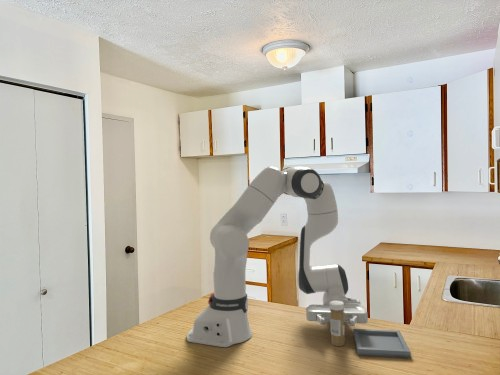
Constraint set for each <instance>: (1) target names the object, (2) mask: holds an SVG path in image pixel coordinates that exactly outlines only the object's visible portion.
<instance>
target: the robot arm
mask: <svg viewBox="0 0 500 375" xmlns="http://www.w3.org/2000/svg"><path fill="white" fill-rule="evenodd" d="M333 189H334V188H333V187H332V185H331V184H330V183H328V182H326V181H323V180H322V178H321V176H320V174H319V173H318V172H317V171H316V170H315V169H313V168H310V167H305V166H299V165H298V166H290V167H289V166H288V167H285V168H283V169H279V168H277V167H275V166H274V167H273V166H267V167H265V168H264V169H262V170H261V172H259V173H258V174H257V176H255V177H254V178H253V180H251V182H250V183H249V185H248V186H247V187H246V189H245V190H244V192H243V193H242V194H241V195H240V196H239V198H238V199H237V201H236V202H235V203H234V204H233V205H232V206H231V208H230V209H229V210H227V212H226V213H225V214H224V215H223V216H222V217H221V218H220V219H219V221H218V222H217V223H216V224H215V225H214V226H213V227H212V228H211V229H210V234H209V240H210V244H211V246H212V247H213V249H214V255H215V256H214V267H213V274H212V275H213V292H212V293H210V296H209V297H208V300H207V304H208V306H206V308H204V309H203V310H202V311H201V312H200V313H199V314H198V315H197V316H196V317H195V320H194V322H193V326H192V328H191V329H189V331H188V332H187V334H186V341H187V342H188V343H194V344H201V345H208V346H215V347H219V348H220V347H221V348H228V347H231V346H232V345H236V344H241V343H244V342H246V341H248V340H249V339H251V337H252V335H253V332H252V330H251V326H250V321H249V314H248V309H249V302H248V299H249V298H248V294H247V289H246V287H247V286H246V284H247V283H246V268H247V261H248V251H249V246H250V241H249V237H248V234H249V233H251V231H252V230H253V229H254V228H255V227H256V226H258V225H259V224H260V223H261V222H262V221H263V220H264V218H265V217H266V216H267V214H269V211H270V210H271V209H272V207H273V206H274V205H275V203H276V202H277V200H278V199H279V197H281V196H282V195H283V194H284V195H289V196H292V197H295V198H302V199H304V201H305V204H306V211H307V219H306V224H305V225H304V226H302V227H301V231H300V239H299V261H298V262H299V263H298V271H297V272H298V273H297V285H298V286H297V287H298V289H300V291H301V292H303V293H304V294H306V295H310V294H315V293H322V292H323V294H322V304H309V305H308V306H307V307H306V308H305V311H306V312H305V313H306V316H305V317H306V321H308V322H318V323H319V324H320V325H325V324H326V323H330V302H331V301H342V302H343V303H344V324H349V326H351V327H355V326H356V324H367V323H368V320H369V319H368V318H369V317H368V315H369V314H368V311H367V309H366V308H365V306H364V304H362V302H361V300H360V299H356V298H351V297H350V298H349V297H347V293H348V292H349V282H348V277H347V273H346V270H345V269H344V268H343V267H342V266H341V265H339V263H337V264H335V263H334V264H328V265H327V264H326V265H319V266H317V265H315V266H313V265H312V266H311V265H310V263H311V262H310V261H311V259H310V258H311V256H310V254H311V246H312V245H313V244H314V242H315V243H316V242H317V241H318V240H320V239H322V238H323V237H326V236H328V235H329V234H331V233H332V232H333V231H334V230H335V229H336V228H337V226H338V224H339V213H338V206H337V200H336V196H335V193H334V190H333ZM320 325H319V326H320Z"/></svg>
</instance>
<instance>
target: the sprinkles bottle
mask: <svg viewBox="0 0 500 375" xmlns="http://www.w3.org/2000/svg"><path fill="white" fill-rule="evenodd" d="M329 323H330V338H331V340H330V343H331V344H332V345H333V346H335V347H336V346H337V347H342V346H344V345H345V344H346V341H345V323H344V303H343V302H342V301H331V302H330V322H329Z"/></svg>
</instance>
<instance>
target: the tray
mask: <svg viewBox="0 0 500 375" xmlns="http://www.w3.org/2000/svg"><path fill="white" fill-rule="evenodd" d="M352 332H353V339H354V344H355V349H356V354H357V356H359V357H360V356H362V357H363V356H364V357H378V358H379V357H382V358H399V359H411V357H412V356H411V350H410V348H409V346H408V344H407V341H406V340H405V338H404V336H403V335H402V333H401V331H400V330H395V329H394V330H389V329H369V328H353V329H352Z"/></svg>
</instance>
